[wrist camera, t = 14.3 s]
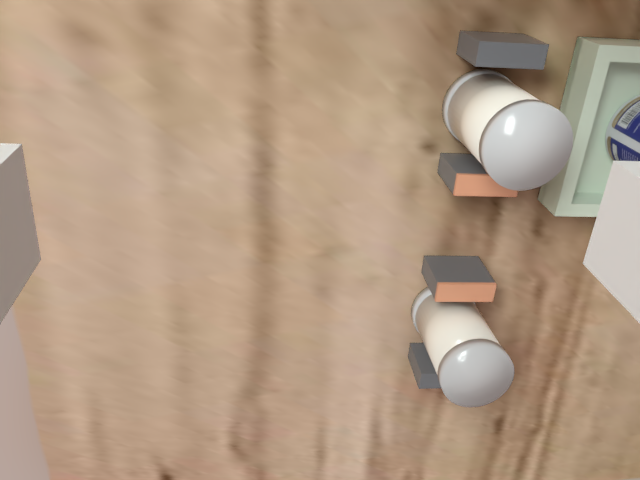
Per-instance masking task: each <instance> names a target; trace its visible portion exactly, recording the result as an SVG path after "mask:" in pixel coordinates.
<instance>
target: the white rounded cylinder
mask: <svg viewBox="0 0 640 480" xmlns="http://www.w3.org/2000/svg"><path fill="white" fill-rule="evenodd" d="M411 317H412V321H413V323H414V325H415V328H416V330H417V331H418V333H419V334H420V336H421V338H422V341H423V343H424V345H425V348H426V350H427V352H428V355H429V357H430V359H431V361H432V364H433V366H434V368H435V371H436V373H437V376H438V381H439V383H440V386H441V388H442V390H443V392H444V394H445V396H446V397H447V398H448V399H449V400H450V401H451V402H453V403H454V404H456V405H459V406H463V407H479V406H483V405H486V404H489V403H491V402H493V401H495V400H497V399H498V398H499V397H501V396H502V395H503V394H504V393H505V392H506V391H507V390H508V388H509V387H510V385H511V383H512V381H513V378H514V365H513V363H512V360H511V359H510V357H509V356H508V354H507V352H506V351H505V349H504V348H503V347H502V346H501V345H500V344H499V342H498V341H497V339H496V337H495V336H494V334H493V333H492V331H491V329H490V328H489V326H488V325H487V323H486V321H485V320H484V318H483V317H482V315H481V313H480V312H479V310H478V309H477V307H476V304H475V302H435V300H434V298H433V295H432V293H431V291H430V289H429V287H427V288H425V289H424V290H422V291H421V292H420V293H419V294H418V295H417V297H416V298H415V300H414V302H413V304H412V308H411Z"/></svg>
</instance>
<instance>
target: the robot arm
mask: <svg viewBox="0 0 640 480" xmlns="http://www.w3.org/2000/svg"><path fill="white" fill-rule="evenodd" d="M40 260H41V256H40V250H39V244H38V238H37V232H36V226H35V221H34V215H33V209H32V203H31V197H30V191H29V185H28V179H27V173H26V167H25V161H24V155H23V149H22V144H4V143H0V324H1V322H2V321H3V319H4V317H5V316H6V314H7V313H8V311H9V309H10V308H11V306H12V305H13V303H14V301H15V300H16V298H17V297H18V295H19V294H20V292H21V290H22V289H23V287H24V286H25V284H26V282H27V281H28V279H29V278H30V276H31V274H32V273H33V271H34V270H35V268H36V266H37V265H38V263H39V262H40ZM583 264H584V265H585V266H586V267H587V269H588V270H589V271H590V272H591V273H592V274H593V275H594V276H595V277H596V278H597V279H598V280H599V281H600V282H601V283H602V284H603V285H604V286H605V288H606V289H607V290H608V291H609V292H610V293H611V294H612V295H613V296H614V297H615V298H616V299H617V300H618V301H619V302H620V303H621V304H622V305H623V306H624V308H625V309H626V310H627V311H628V312H629V313H630V314H631V315H632V316H633V317H634V318H635V319H636V320H637V321H638V322H639V323H640V161H613V164H612V167H611V171H610V174H609V177H608V181H607V184H606V187H605V191H604V194H603V198H602V201H601V204H600V208H599V211H598V214H597V218H596V221H595V224H594V228H593V231H592V235H591V238H590V241H589V245H588V248H587V251H586V255H585V258H584V262H583Z"/></svg>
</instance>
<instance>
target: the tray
mask: <svg viewBox="0 0 640 480" xmlns="http://www.w3.org/2000/svg"><path fill="white" fill-rule="evenodd" d="M638 95H640V40H633V39H614V38H594V37H577V41H576V45H575V49H574V54H573V58H572V62H571V66H570V70H569V74H568V78H567V82H566V86H565V90H564V94H563V98H562V103H561V107H560V112H562V113H563V114H564V115H565V116H566V118H567V119H568V121H569V122H570V125H571V127H572V131H573V147H572V151H571V154H570V157H569V159H568V161H567V163H566V164H565V166H564V167H563V169H562V170H561V171H560V172H559V173H558V174H557V175H556V176H555V177H554V178H553V179H552V180H550V181H549V182H547V183H546V184H544V185H542V186H541V188H540V192H539V196H538V200H539V201H540V202H541V203H542V204H543V205H544V206H545V207H546V208H547V209H548V210H549V211H550V212H551V213H552V214H553V215H554V216H566V217H597V214H598V211H599V208H600V204H601V201H602V198H603V194H604V191H605V187H606V184H607V181H608V177H609V174H610V171H611V167H612V164H613V160H612V159H611V158H610V156H609V154H608V152H607V149H606V145H605V135H606V130H607V127H608V124H609V122H610V120H611V118H612V117H613V115H614V114H615V112H616V111H617V110H618V109H619V108H620V107H621V106H622V105H623V104H624V103H625V102H627V101H628V100H630V99H631V98H633V97H635V96H638Z"/></svg>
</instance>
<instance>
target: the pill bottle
mask: <svg viewBox="0 0 640 480" xmlns="http://www.w3.org/2000/svg"><path fill="white" fill-rule="evenodd" d="M605 145H606V149H607V152H608V154H609V156H610V158H611V159H612V160H613V161H640V95H638V96H635V97H633V98H631V99H630V100H628V101H627V102H625V103H624V104H623V105H622V106H621V107H620V108H619V109H618V110H617V111H616V112H615V114H614V115H613V117H612V118H611V120H610V122H609V124H608V127H607V130H606V135H605Z"/></svg>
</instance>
